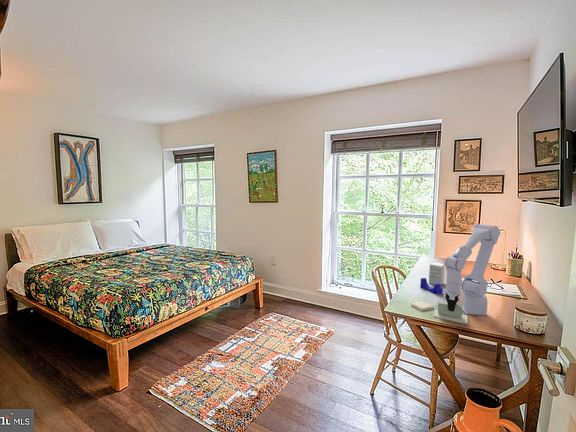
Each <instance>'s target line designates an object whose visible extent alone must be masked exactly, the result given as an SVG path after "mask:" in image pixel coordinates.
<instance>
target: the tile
mask: <svg viewBox="0 0 576 432" xmlns="http://www.w3.org/2000/svg"><path fill="white" fill-rule="evenodd" d="M410 306H411V307H413V308H415V309H417V310H419V311H420V312H425V311H428V310H433V309H434V310H435V306H434V305H433V304H429V303H428V302H425V301H423V300H421V301H417V302H411V303H410Z"/></svg>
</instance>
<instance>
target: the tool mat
mask: <svg viewBox="0 0 576 432" xmlns="http://www.w3.org/2000/svg"><path fill="white" fill-rule="evenodd" d="M433 318H437V319H442V320H445V321H447V320H448V321H451V322H456V323H459V324H461V323H462V324H465V325H466V324H467V325H469V317H468V314H462V318H460V317H455V316H450V315H445V314H440V313H438V308H434V312H433Z"/></svg>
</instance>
